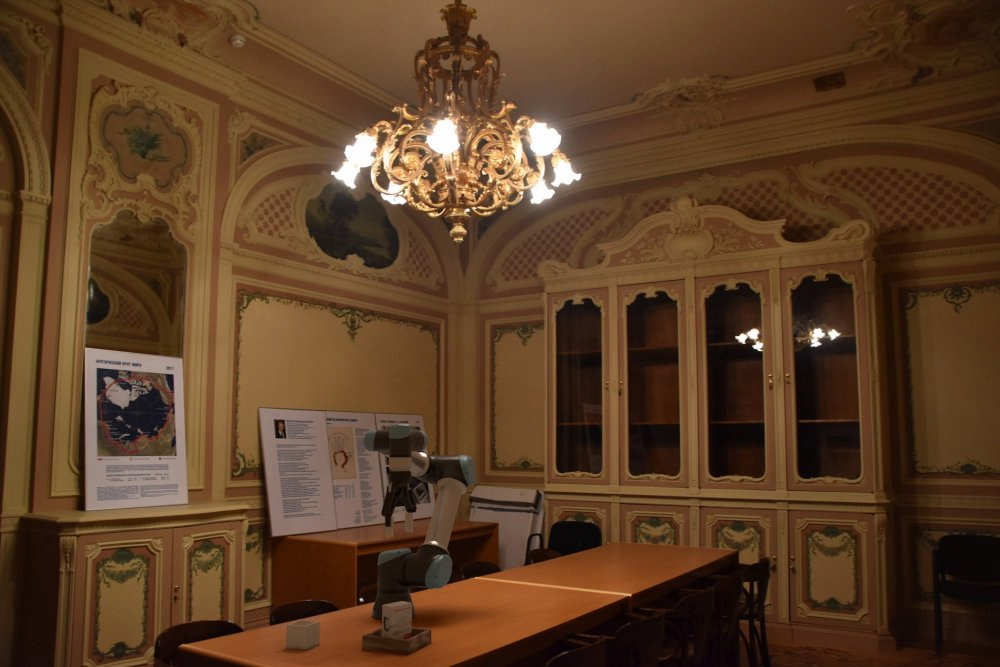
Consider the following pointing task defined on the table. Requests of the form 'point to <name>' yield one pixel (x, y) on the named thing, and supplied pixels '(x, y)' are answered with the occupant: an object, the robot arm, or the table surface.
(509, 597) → the table surface
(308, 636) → the small grey bin
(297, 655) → the table surface
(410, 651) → the crate
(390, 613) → the ink box
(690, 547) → the table surface
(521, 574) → the table surface
